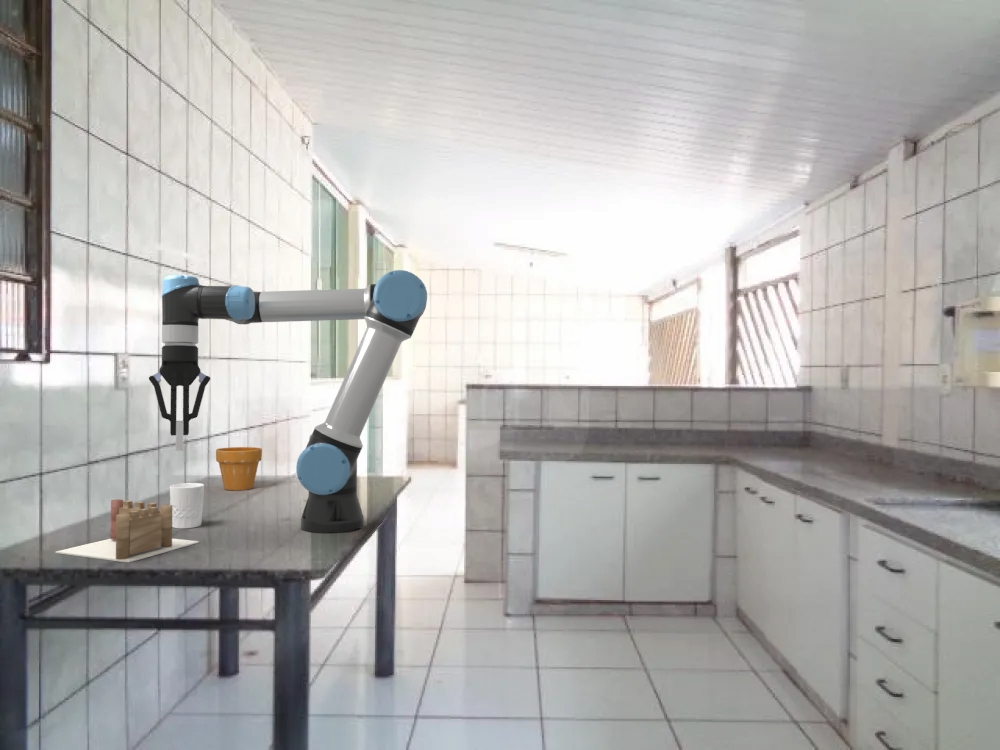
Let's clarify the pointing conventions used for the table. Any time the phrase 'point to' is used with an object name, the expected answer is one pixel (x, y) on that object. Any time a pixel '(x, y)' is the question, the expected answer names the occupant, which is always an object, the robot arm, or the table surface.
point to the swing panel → (125, 511)
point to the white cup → (187, 504)
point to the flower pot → (238, 466)
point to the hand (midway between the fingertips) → (179, 450)
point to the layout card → (108, 550)
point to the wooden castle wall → (143, 530)
